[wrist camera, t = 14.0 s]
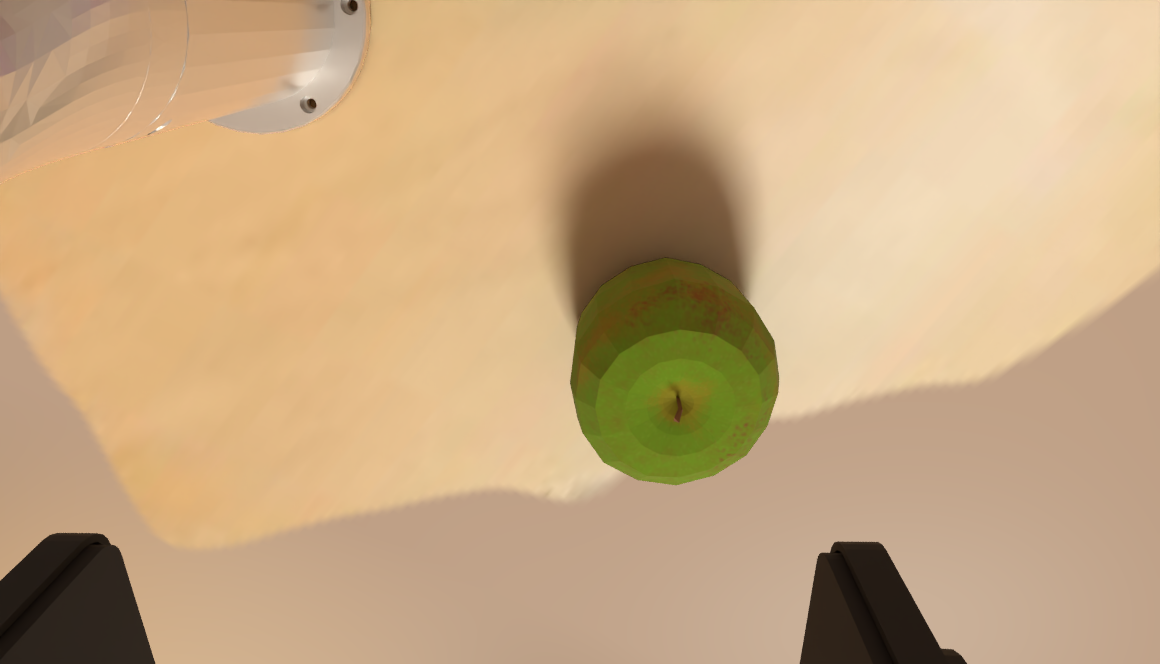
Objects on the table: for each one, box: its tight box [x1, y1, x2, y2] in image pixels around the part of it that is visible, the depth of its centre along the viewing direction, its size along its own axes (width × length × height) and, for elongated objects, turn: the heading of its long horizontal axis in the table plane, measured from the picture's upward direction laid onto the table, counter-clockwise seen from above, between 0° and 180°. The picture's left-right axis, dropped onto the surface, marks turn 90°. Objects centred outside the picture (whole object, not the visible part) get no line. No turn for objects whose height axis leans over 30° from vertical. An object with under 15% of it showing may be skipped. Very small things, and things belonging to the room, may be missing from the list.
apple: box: [570, 258, 779, 485], centre depth 39 cm, size 11×11×11 cm
